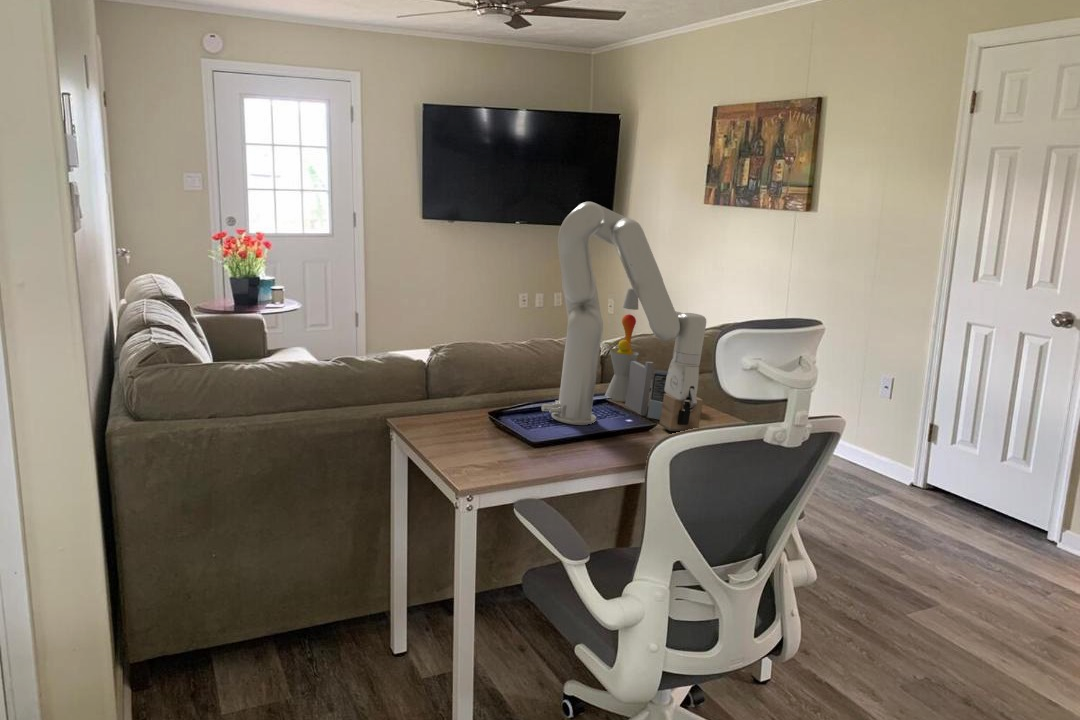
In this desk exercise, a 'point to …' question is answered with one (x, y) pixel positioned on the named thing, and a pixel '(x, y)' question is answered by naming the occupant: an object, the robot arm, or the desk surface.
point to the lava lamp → (623, 352)
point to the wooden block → (672, 412)
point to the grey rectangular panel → (639, 387)
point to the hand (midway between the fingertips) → (676, 420)
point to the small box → (658, 385)
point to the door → (655, 409)
